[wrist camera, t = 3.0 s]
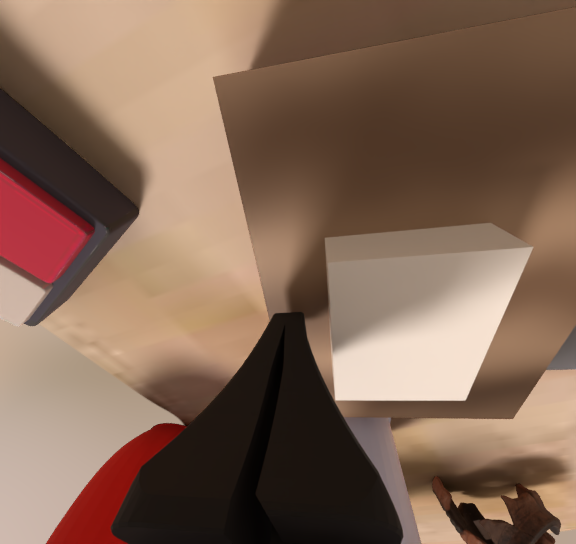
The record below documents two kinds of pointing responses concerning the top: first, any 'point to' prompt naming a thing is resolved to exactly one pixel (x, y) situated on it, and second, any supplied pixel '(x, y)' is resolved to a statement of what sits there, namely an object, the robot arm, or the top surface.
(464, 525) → the pottery mug
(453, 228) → the tile
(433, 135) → the block
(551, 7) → the top surface
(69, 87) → the top surface
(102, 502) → the ceramic cup
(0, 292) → the calculator
